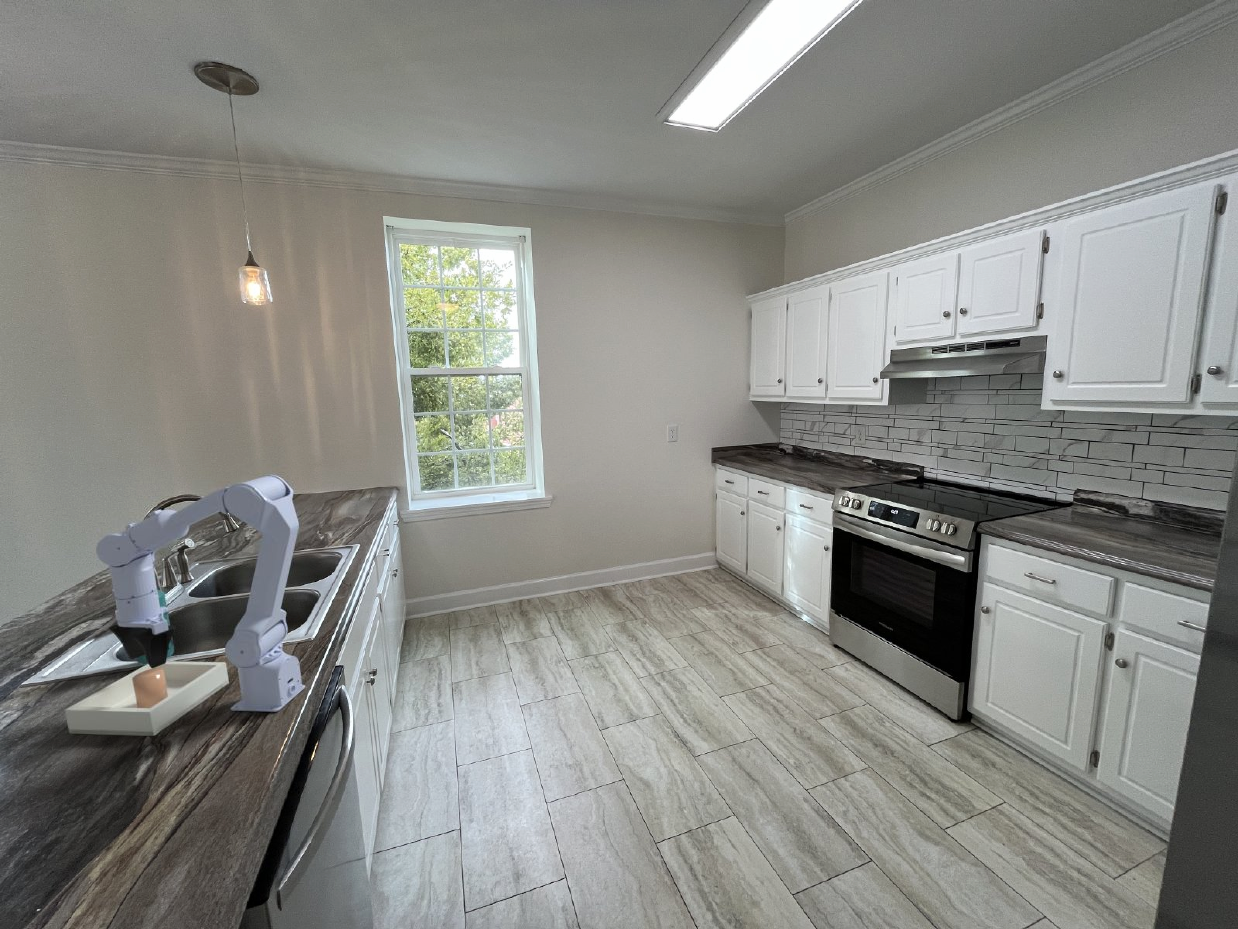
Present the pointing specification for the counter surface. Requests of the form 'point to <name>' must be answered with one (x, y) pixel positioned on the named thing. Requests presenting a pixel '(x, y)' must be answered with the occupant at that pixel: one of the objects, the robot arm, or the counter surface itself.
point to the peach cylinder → (150, 687)
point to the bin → (121, 716)
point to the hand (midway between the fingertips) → (148, 661)
